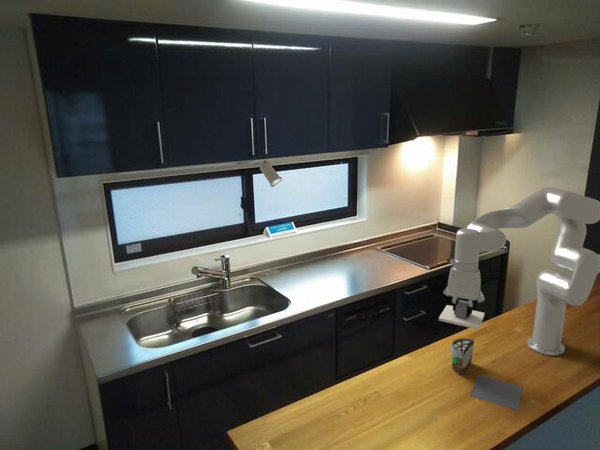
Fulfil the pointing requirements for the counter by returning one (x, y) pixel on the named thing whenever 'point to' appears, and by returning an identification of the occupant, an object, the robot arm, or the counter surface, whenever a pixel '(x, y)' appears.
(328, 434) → the counter surface
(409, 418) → the counter surface
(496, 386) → the mat
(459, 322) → the lid
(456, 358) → the food container
